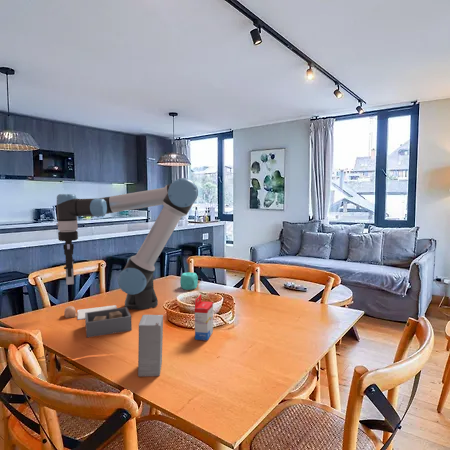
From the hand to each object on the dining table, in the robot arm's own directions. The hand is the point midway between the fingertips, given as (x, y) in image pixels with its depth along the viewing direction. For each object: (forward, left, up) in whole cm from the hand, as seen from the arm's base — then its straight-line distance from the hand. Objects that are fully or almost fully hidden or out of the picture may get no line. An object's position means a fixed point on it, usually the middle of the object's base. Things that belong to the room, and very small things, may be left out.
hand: (70, 280), depth 147 cm
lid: (-8, 0, -16) cm, 18 cm away
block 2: (-16, +20, -15) cm, 30 cm away
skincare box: (-22, +59, -16) cm, 65 cm away
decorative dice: (-60, -23, -16) cm, 66 cm away
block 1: (-10, +22, -15) cm, 29 cm away
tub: (-13, +21, -16) cm, 29 cm away
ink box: (-45, +42, -16) cm, 64 cm away
